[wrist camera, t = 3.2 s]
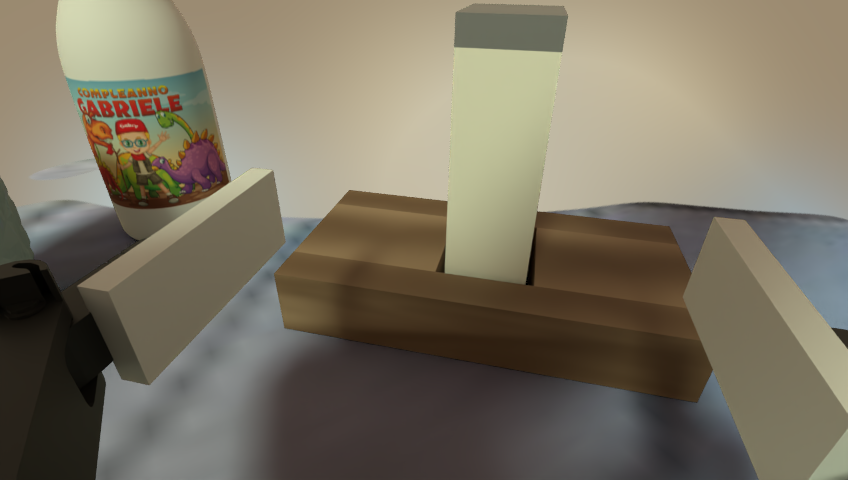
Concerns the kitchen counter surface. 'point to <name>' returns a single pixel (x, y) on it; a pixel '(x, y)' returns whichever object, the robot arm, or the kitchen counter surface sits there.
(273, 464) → the kitchen counter surface
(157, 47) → the milk bottle
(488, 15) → the plug
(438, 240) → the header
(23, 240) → the green cup
